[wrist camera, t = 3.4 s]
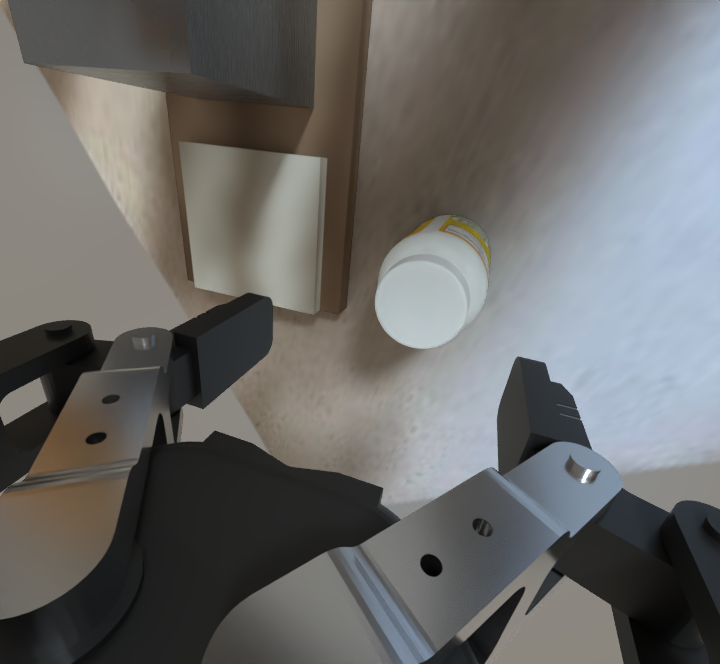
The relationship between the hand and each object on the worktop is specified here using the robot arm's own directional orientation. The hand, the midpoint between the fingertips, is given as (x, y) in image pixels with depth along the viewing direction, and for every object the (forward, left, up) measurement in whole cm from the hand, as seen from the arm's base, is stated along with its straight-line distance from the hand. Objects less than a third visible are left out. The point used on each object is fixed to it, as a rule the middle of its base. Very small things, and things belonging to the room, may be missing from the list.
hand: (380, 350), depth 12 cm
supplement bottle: (-1, 0, -14) cm, 14 cm away
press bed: (+12, -6, -14) cm, 20 cm away
